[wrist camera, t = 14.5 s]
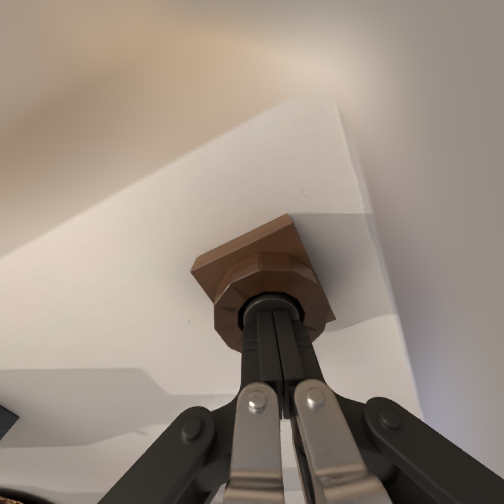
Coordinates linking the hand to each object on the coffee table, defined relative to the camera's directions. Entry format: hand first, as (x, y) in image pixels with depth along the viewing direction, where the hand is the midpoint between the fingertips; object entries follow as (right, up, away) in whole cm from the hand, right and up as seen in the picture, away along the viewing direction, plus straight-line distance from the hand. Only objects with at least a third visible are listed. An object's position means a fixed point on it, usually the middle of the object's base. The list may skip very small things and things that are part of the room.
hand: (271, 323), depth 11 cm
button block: (0, +2, +3) cm, 4 cm away
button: (0, +1, +2) cm, 2 cm away
